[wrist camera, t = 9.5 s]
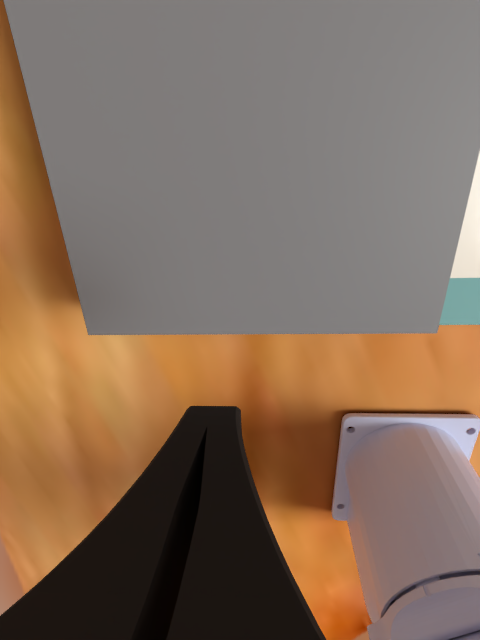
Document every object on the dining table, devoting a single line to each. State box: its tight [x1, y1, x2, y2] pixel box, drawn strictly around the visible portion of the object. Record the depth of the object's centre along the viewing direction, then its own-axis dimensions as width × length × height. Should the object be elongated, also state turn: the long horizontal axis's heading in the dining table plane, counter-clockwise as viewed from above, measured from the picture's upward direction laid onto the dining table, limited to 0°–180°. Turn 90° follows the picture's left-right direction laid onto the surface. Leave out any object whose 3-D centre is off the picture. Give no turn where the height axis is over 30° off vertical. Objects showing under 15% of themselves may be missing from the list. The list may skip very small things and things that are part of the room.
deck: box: [4, 0, 480, 335], centre depth 15 cm, size 14×16×3 cm
